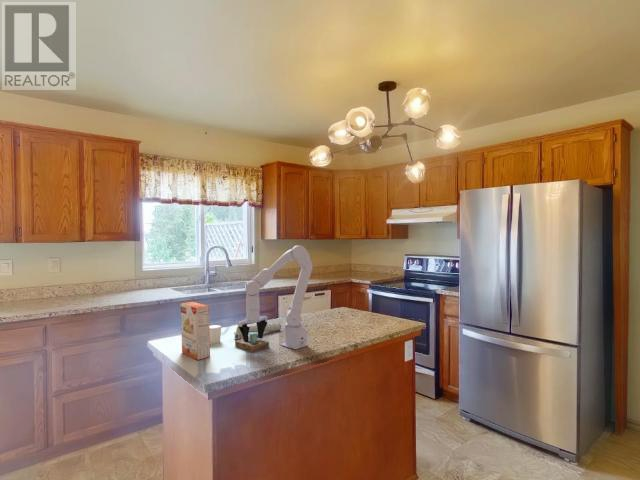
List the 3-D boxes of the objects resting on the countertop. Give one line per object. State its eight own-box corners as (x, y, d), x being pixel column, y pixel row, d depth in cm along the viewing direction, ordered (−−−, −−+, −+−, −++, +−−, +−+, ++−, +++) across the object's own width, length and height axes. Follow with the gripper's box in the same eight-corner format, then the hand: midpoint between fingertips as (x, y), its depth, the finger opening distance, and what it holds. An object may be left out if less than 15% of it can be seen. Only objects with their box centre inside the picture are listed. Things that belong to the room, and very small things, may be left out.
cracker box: (180, 353, 153) (180, 303, 153) (194, 349, 158) (193, 301, 157) (196, 361, 144) (195, 307, 143) (210, 357, 148) (209, 305, 147)
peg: (258, 347, 160) (258, 333, 160) (252, 348, 158) (252, 335, 158) (254, 345, 162) (253, 332, 162) (248, 347, 160) (247, 333, 160)
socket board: (268, 347, 160) (268, 341, 160) (252, 352, 153) (251, 346, 153) (252, 341, 168) (251, 336, 168) (235, 346, 162) (235, 341, 162)
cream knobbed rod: (282, 323, 187) (238, 325, 170) (280, 336, 187) (237, 340, 170) (276, 321, 191) (233, 323, 174) (274, 334, 190) (231, 337, 174)
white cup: (223, 339, 173) (222, 324, 173) (219, 343, 166) (219, 328, 166) (208, 339, 173) (208, 324, 173) (204, 343, 166) (204, 328, 166)
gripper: (260, 305, 168) (260, 334, 168) (233, 310, 157) (233, 341, 157) (270, 307, 163) (270, 337, 163) (243, 312, 153) (243, 345, 153)
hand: (253, 339), depth 160 cm, fingers open, 7 cm apart
